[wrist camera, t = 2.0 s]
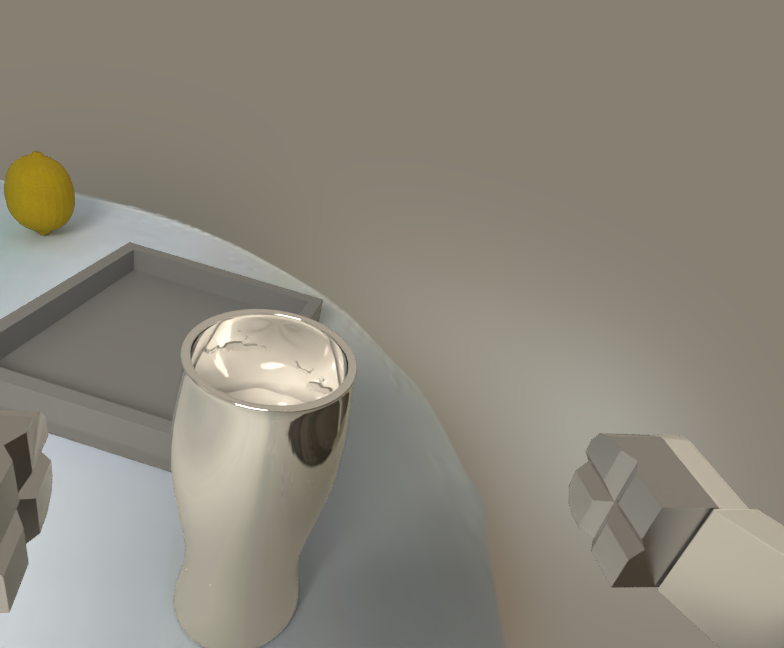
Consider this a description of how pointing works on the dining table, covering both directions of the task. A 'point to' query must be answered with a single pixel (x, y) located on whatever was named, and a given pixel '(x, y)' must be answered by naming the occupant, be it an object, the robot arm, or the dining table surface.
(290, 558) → the beer glass
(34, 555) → the dining table surface
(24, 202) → the lemon
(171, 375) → the tray
